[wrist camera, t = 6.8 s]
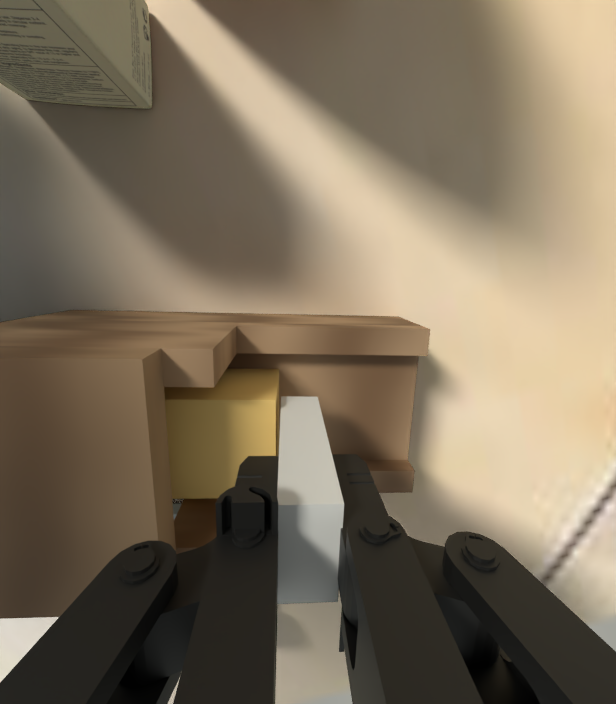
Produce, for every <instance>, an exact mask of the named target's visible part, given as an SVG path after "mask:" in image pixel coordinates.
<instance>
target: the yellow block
mask: <svg viewBox="0 0 616 704" xmlns="http://www.w3.org/2000/svg"><path fill="white" fill-rule="evenodd" d="M164 395H165V409H166V422H167V435H168V449H169V462H170V476H171V489H172V499H201V498H219V496H220V495H221V494H222V493H224V492H225V491H226V490H228V489H229V488H232V487H235V483H236V479H237V474H238V470H239V466H240V464H241V463H242V462H243V461H244V460H245V459H246V458H247V457H248V456H278V451H279V369H226V370H225V372H224V373H223V375H222V376H221V378H220V379H219V381H218V382H217V384H216V385H215V387H164Z"/></svg>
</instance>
